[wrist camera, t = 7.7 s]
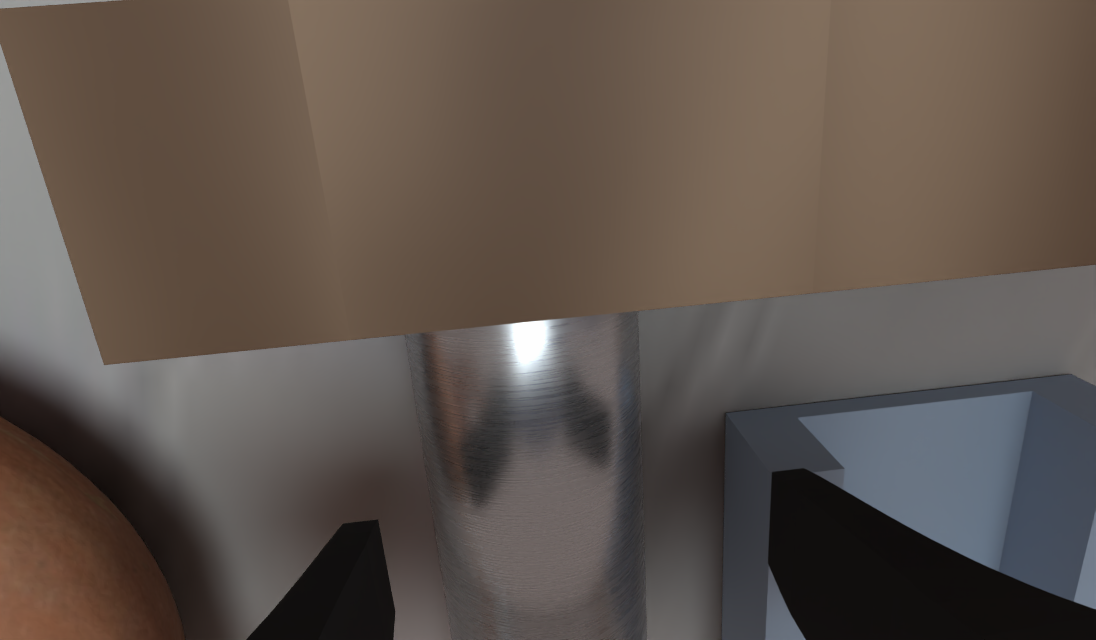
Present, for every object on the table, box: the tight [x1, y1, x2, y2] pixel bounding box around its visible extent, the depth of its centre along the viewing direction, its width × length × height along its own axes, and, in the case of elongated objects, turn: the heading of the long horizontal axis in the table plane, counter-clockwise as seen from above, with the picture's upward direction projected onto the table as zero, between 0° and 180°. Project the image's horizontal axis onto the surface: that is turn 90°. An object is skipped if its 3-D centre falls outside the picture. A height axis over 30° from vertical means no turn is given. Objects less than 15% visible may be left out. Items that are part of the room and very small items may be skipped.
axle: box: [405, 311, 647, 640], centre depth 14 cm, size 4×16×4 cm, turn 4°
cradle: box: [722, 374, 1096, 640], centre depth 17 cm, size 9×9×3 cm
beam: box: [0, 0, 1096, 365], centre depth 11 cm, size 18×4×6 cm, turn 94°
